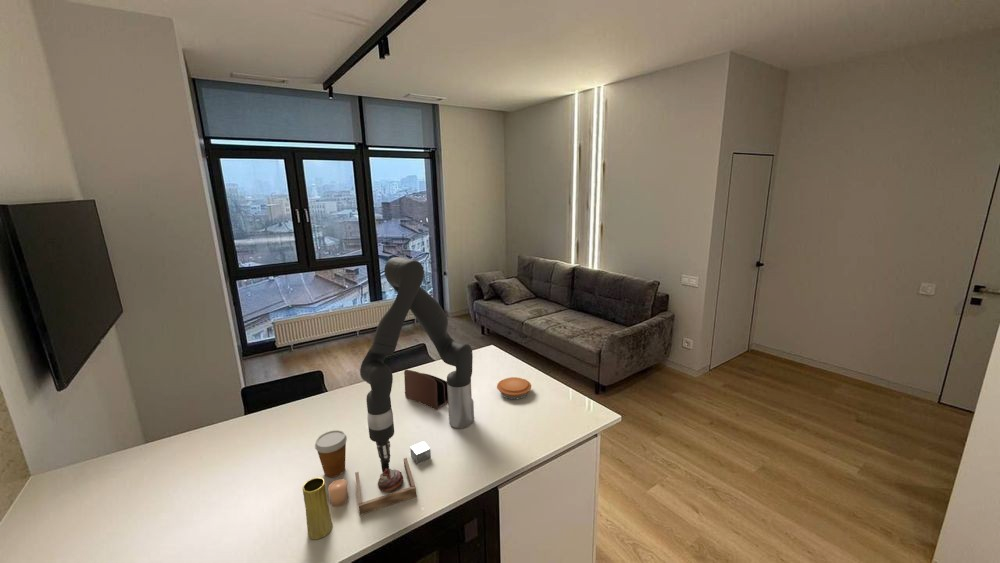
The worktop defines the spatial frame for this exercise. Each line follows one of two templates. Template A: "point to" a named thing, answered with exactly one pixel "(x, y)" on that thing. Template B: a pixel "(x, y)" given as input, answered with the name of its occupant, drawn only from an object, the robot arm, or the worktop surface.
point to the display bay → (389, 498)
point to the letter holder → (426, 389)
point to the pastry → (390, 480)
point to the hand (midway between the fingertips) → (385, 470)
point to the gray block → (420, 452)
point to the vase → (317, 508)
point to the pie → (514, 387)
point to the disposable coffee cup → (332, 452)
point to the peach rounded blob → (338, 492)
